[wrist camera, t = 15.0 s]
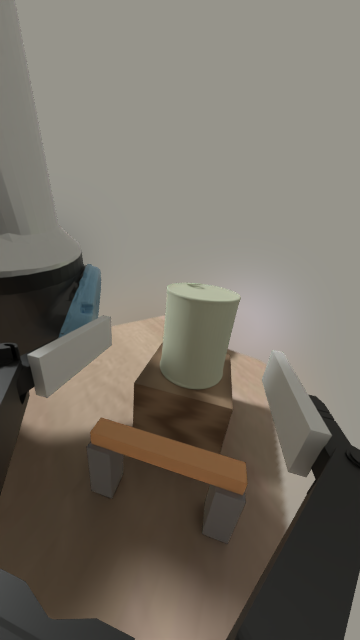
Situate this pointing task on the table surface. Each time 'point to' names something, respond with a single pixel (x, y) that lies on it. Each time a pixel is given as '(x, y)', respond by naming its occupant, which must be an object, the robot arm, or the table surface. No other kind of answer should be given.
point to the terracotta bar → (171, 455)
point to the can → (197, 333)
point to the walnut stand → (183, 407)
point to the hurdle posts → (218, 505)
